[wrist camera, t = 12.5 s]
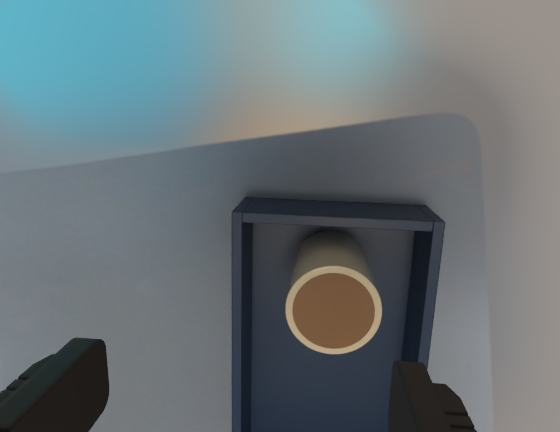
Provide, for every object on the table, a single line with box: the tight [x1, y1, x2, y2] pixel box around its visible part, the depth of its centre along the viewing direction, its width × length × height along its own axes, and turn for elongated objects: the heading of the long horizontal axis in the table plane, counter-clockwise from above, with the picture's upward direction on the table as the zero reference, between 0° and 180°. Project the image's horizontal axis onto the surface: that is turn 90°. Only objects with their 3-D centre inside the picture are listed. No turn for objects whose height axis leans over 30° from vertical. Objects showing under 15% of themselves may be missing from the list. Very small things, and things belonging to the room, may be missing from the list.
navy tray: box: [232, 197, 445, 432], centre depth 37 cm, size 26×16×6 cm, turn 178°
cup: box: [285, 230, 382, 354], centre depth 33 cm, size 7×7×9 cm
